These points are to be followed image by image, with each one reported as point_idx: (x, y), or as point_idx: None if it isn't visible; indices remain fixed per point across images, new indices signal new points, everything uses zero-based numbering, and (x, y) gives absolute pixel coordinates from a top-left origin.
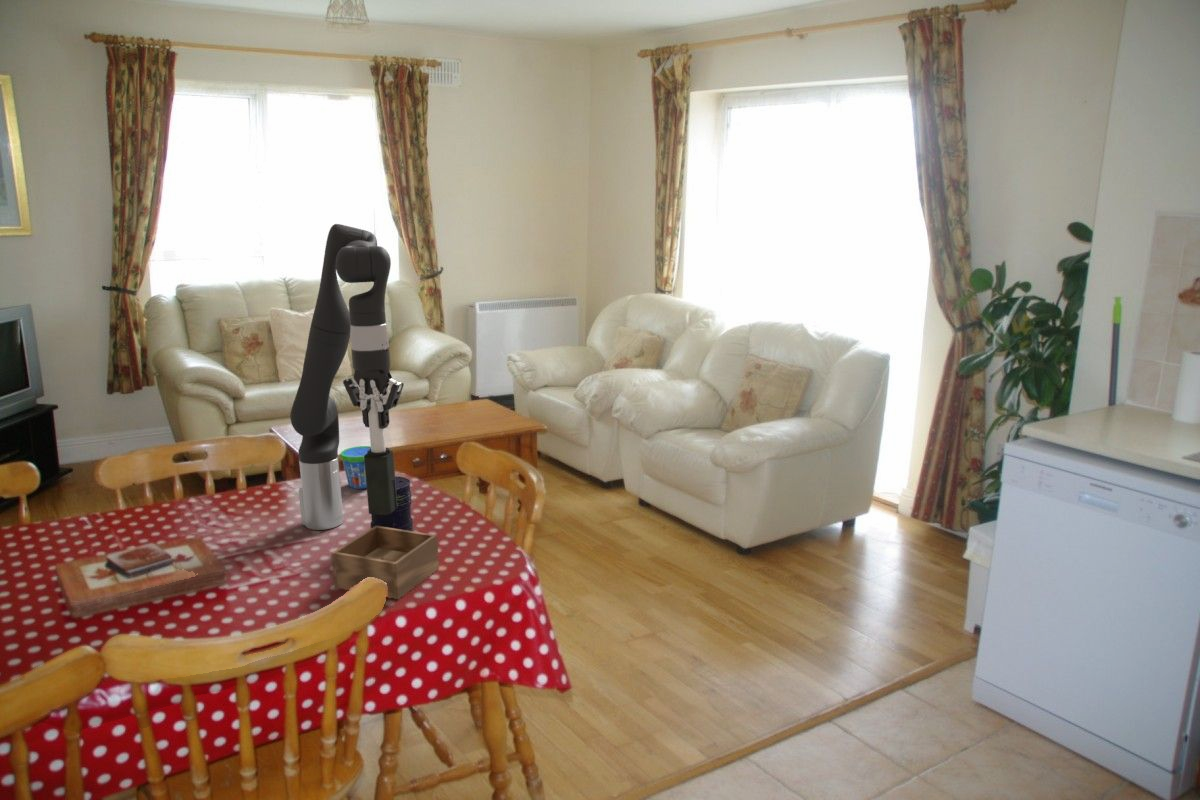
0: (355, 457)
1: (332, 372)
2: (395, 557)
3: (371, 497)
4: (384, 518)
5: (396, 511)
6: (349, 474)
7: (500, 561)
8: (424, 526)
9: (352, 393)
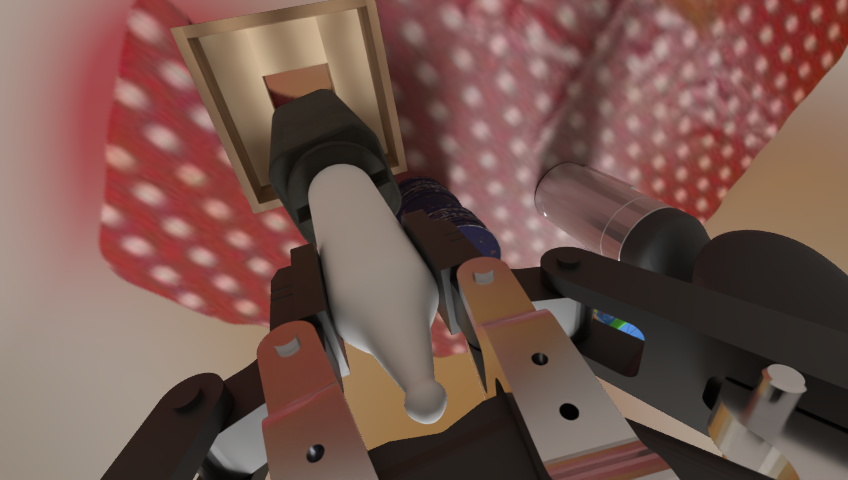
0: (623, 322)
1: None
2: None
3: (319, 98)
4: (421, 206)
5: None
6: None
7: (190, 272)
8: None
9: (667, 314)
